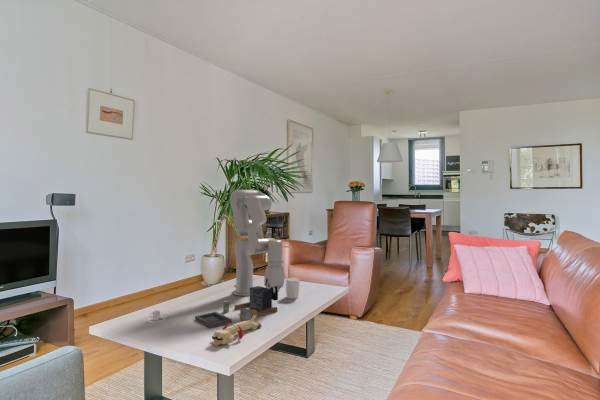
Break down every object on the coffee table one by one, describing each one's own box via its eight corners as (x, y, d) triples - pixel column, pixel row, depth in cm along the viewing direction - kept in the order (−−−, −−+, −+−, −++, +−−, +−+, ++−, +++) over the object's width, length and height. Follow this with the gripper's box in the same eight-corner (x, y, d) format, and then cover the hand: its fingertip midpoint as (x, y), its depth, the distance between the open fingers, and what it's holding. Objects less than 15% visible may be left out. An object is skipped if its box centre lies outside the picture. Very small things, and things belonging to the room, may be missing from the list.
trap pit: (194, 319, 159) (194, 316, 159) (215, 314, 166) (215, 311, 166) (210, 328, 148) (210, 324, 148) (231, 322, 155) (231, 319, 155)
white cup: (283, 296, 198) (283, 278, 198) (296, 294, 202) (296, 277, 201) (288, 299, 191) (288, 281, 191) (301, 298, 194) (301, 280, 194)
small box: (272, 310, 173) (272, 288, 173) (262, 313, 168) (262, 291, 168) (258, 305, 180) (258, 285, 180) (248, 308, 176) (248, 287, 176)
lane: (223, 311, 170) (223, 301, 170) (257, 303, 184) (257, 294, 184) (242, 321, 157) (242, 309, 157) (277, 311, 171) (277, 301, 171)
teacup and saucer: (169, 316, 164) (169, 308, 164) (166, 322, 156) (166, 313, 156) (148, 318, 162) (148, 309, 162) (145, 324, 154) (145, 314, 154)
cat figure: (246, 327, 154) (203, 342, 132) (247, 307, 154) (205, 319, 133) (265, 332, 148) (223, 348, 127) (266, 311, 149) (225, 324, 127)
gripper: (281, 261, 188) (281, 295, 188) (258, 264, 178) (258, 300, 178) (290, 263, 183) (290, 298, 183) (267, 266, 172) (267, 304, 172)
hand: (274, 299), depth 180 cm, fingers closed
